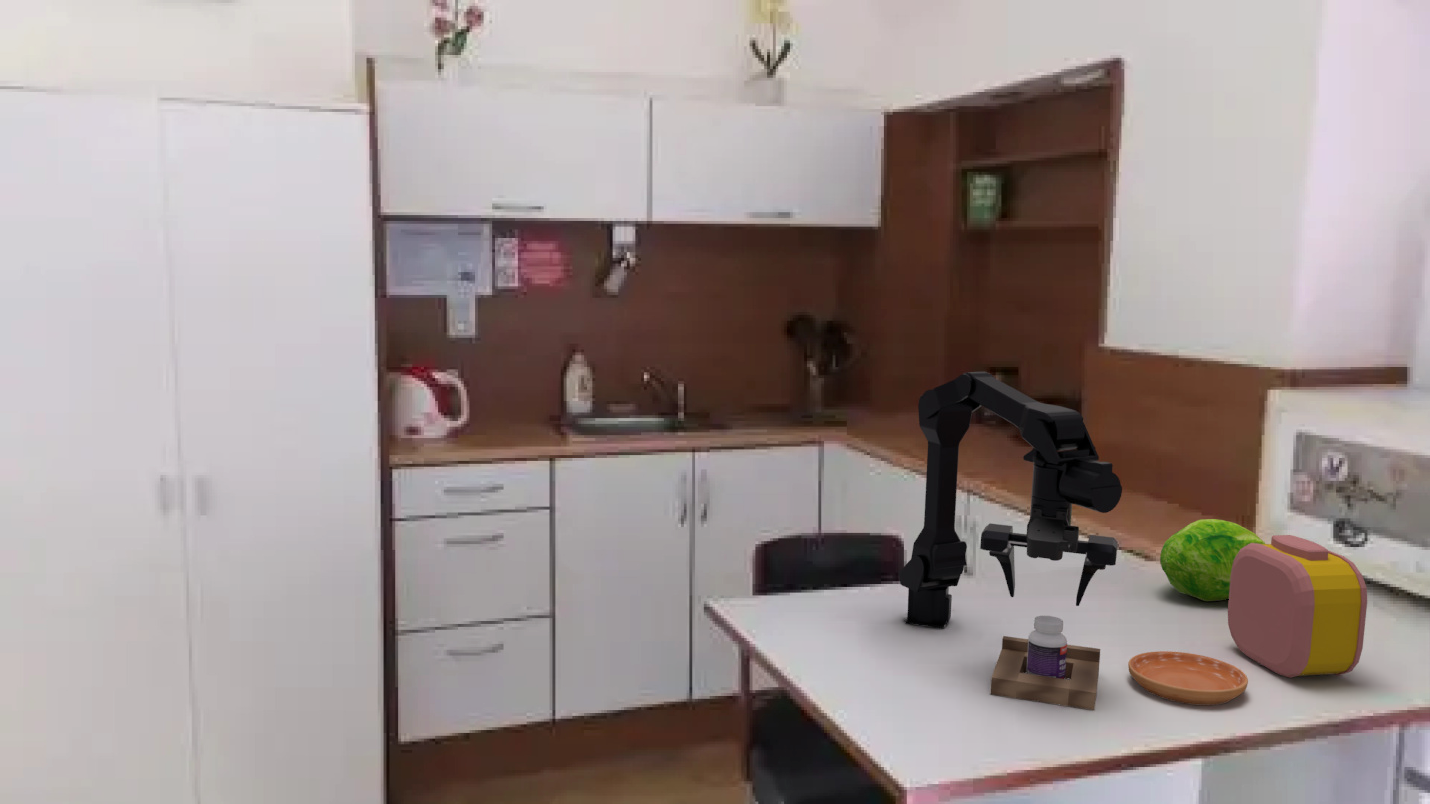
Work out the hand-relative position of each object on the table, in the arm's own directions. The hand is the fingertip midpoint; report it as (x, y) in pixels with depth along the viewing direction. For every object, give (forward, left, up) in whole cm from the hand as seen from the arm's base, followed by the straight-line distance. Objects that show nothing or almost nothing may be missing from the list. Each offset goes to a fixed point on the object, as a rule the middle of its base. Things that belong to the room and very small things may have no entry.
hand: (1044, 600), depth 165 cm
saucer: (+20, +4, -12) cm, 24 cm away
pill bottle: (+1, -3, -12) cm, 12 cm away
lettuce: (+26, +53, -12) cm, 60 cm away
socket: (+1, -3, -12) cm, 12 cm away
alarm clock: (+35, +20, -12) cm, 42 cm away
